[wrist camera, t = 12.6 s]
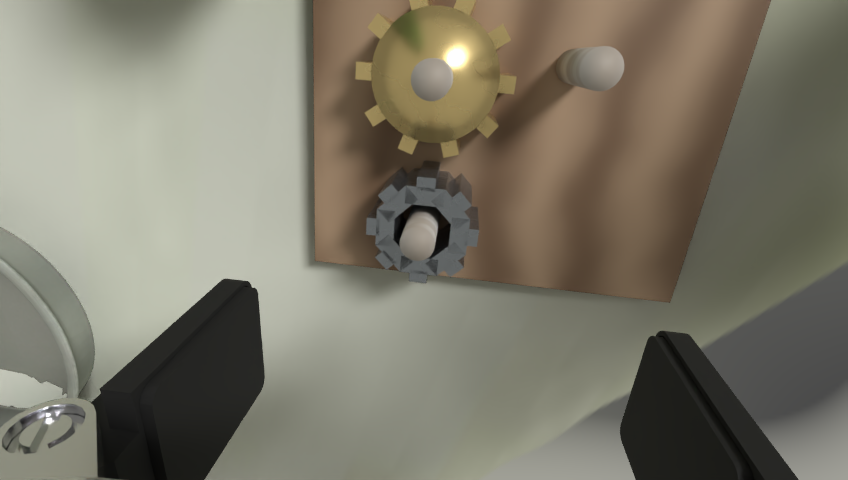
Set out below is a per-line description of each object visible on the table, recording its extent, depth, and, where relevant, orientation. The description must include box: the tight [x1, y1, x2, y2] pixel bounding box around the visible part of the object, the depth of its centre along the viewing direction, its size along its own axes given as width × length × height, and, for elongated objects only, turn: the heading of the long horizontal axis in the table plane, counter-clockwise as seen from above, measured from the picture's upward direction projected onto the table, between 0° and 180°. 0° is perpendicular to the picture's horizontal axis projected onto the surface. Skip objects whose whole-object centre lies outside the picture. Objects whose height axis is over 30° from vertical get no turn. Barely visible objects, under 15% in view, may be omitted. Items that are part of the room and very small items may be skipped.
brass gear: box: [355, 0, 517, 158], centre depth 26 cm, size 9×8×4 cm
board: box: [313, 0, 771, 303], centre depth 27 cm, size 26×20×8 cm
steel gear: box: [366, 160, 479, 283], centre depth 29 cm, size 7×7×4 cm
